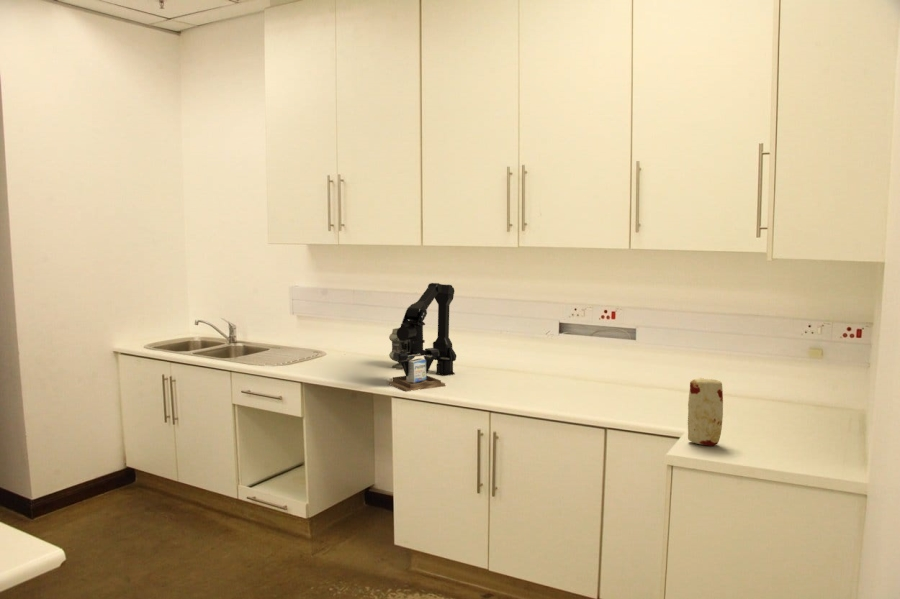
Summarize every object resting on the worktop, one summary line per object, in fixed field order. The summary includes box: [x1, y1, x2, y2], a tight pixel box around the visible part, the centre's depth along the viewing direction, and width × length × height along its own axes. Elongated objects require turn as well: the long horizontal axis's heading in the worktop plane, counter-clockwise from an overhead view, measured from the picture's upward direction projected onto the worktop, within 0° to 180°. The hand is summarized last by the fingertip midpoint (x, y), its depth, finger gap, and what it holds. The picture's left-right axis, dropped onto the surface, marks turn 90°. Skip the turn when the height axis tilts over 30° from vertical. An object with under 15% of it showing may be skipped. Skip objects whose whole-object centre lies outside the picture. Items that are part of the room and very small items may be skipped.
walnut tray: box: [388, 374, 446, 392], centre depth 290 cm, size 18×16×2 cm
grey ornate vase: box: [388, 327, 415, 370], centre depth 326 cm, size 12×12×18 cm
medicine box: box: [405, 358, 427, 383], centre depth 290 cm, size 8×4×9 cm, turn 142°
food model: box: [687, 377, 724, 447], centre depth 208 cm, size 10×7×20 cm
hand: (416, 374), depth 290 cm, fingers closed on medicine box, 9 cm apart
